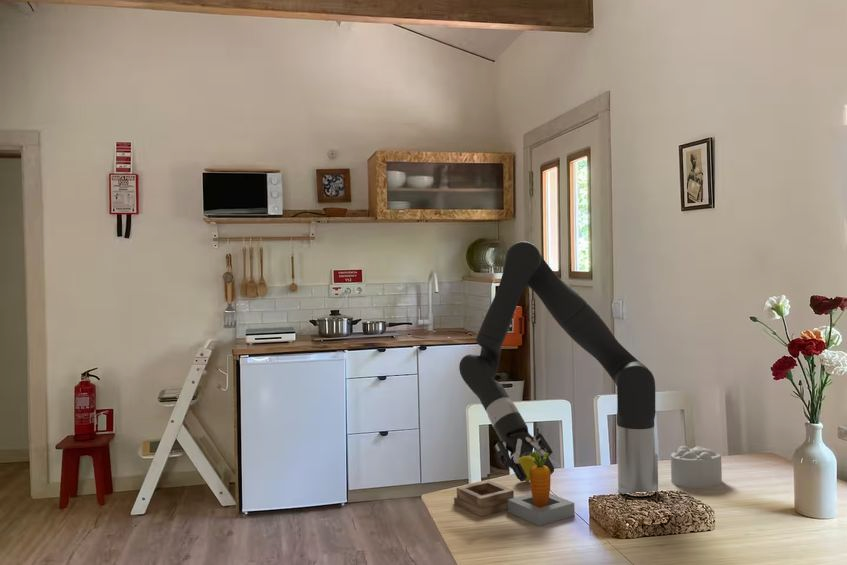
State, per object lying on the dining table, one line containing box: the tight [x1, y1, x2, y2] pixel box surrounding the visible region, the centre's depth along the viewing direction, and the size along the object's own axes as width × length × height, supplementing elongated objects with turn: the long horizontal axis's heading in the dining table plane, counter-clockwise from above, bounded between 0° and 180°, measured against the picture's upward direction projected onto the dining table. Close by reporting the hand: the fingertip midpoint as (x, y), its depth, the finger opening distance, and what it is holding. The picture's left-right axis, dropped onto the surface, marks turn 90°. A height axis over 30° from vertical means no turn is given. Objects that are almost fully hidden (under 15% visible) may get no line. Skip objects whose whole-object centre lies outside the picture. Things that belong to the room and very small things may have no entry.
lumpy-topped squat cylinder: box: [670, 445, 723, 489], centre depth 180 cm, size 10×13×9 cm
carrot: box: [529, 450, 552, 508], centre depth 159 cm, size 5×5×15 cm
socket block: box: [507, 492, 576, 527], centre depth 159 cm, size 11×11×3 cm
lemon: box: [518, 455, 536, 483], centre depth 183 cm, size 6×6×8 cm
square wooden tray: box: [453, 479, 515, 517], centre depth 166 cm, size 11×11×4 cm
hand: (538, 476), depth 159 cm, fingers open, 8 cm apart
